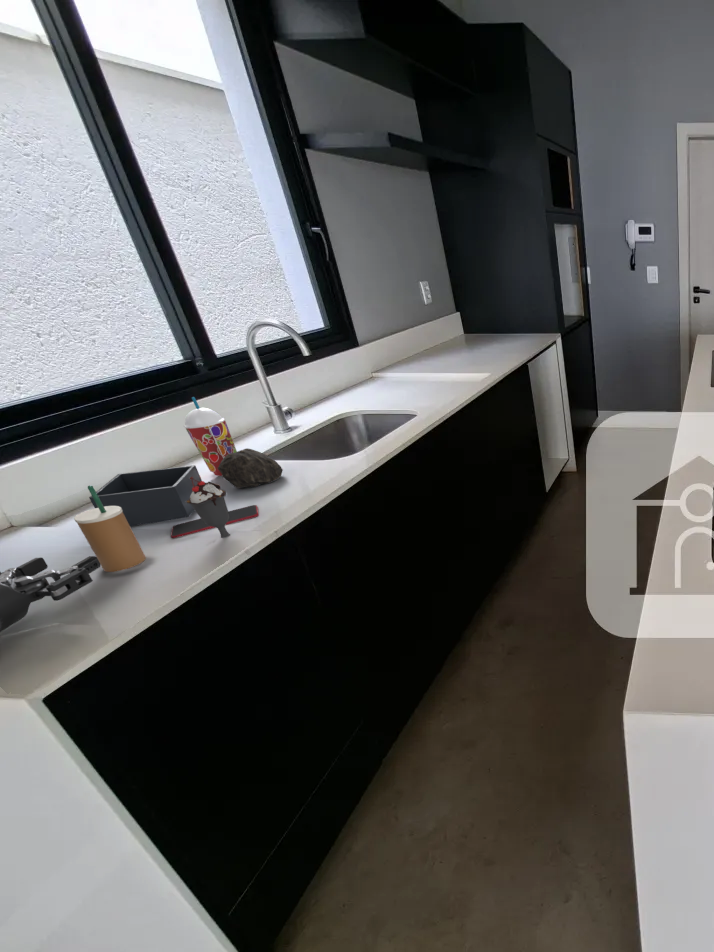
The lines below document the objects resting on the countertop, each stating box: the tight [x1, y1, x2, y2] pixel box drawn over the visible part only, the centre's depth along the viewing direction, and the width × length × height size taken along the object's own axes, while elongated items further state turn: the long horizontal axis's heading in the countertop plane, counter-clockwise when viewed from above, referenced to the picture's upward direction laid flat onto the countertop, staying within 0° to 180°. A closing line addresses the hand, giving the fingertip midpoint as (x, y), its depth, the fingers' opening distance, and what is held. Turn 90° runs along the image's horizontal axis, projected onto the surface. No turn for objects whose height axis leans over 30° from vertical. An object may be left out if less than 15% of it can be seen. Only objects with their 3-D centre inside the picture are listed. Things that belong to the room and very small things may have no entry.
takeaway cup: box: [73, 485, 147, 573], centre depth 103 cm, size 6×6×17 cm
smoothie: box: [183, 396, 238, 477], centre depth 144 cm, size 8×8×20 cm
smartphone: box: [170, 504, 259, 539], centre depth 122 cm, size 7×1×15 cm
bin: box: [88, 464, 203, 527], centre depth 126 cm, size 14×14×8 cm
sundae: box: [185, 477, 231, 539], centre depth 112 cm, size 7×7×15 cm
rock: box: [218, 447, 284, 489], centre depth 140 cm, size 10×11×10 cm
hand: (69, 561), depth 96 cm, fingers open, 8 cm apart
